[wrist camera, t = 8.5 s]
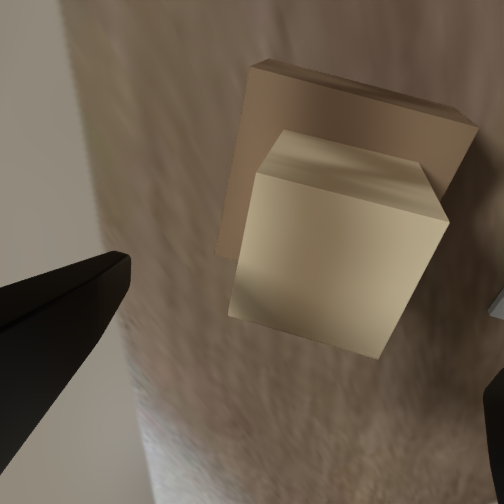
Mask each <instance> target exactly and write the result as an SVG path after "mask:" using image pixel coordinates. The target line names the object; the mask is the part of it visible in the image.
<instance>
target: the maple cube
mask: <svg viewBox="0 0 504 504" xmlns="http://www.w3.org/2000/svg"><path fill="white" fill-rule="evenodd" d="M449 223H450V222H449V220H448V218H447V216H446V214H445V212H444V210H443V208H442V206H441V204H440V202H439V201H438V199H437V197H436V195H435V193H434V191H433V189H432V187H431V185H430V183H429V181H428V179H427V177H426V175H425V174H424V172H423V170H422V168H421V166H420V164H419V163H418V162H414V161H410V160H406V159H402V158H398V157H394V156H390V155H386V154H382V153H378V152H374V151H369V150H365V149H361V148H357V147H353V146H349V145H345V144H341V143H337V142H333V141H329V140H325V139H321V138H317V137H313V136H309V135H305V134H300V133H296V132H292V131H288V130H283V131H282V133H281V134H280V136H279V137H278V139H277V141H276V142H275V144H274V145H273V147H272V148H271V150H270V151H269V153H268V155H267V156H266V158H265V159H264V161H263V162H262V164H261V165H260V167H259V169H258V170H257V172H256V175H255V180H254V185H253V190H252V195H251V200H250V205H249V210H248V215H247V220H246V225H245V230H244V235H243V240H242V245H241V250H240V255H239V260H238V265H237V270H236V275H235V281H234V286H233V291H232V296H231V301H230V306H229V311H228V316H232V317H235V318H238V319H242V320H245V321H249V322H252V323H255V324H259V325H262V326H266V327H269V328H272V329H276V330H279V331H283V332H286V333H289V334H293V335H296V336H300V337H303V338H306V339H310V340H313V341H317V342H320V343H324V344H327V345H330V346H334V347H337V348H341V349H344V350H347V351H351V352H354V353H358V354H361V355H364V356H368V357H371V358H375V359H379V357H380V355H381V353H382V351H383V349H384V347H385V345H386V344H387V342H388V340H389V338H390V336H391V334H392V332H393V330H394V328H395V326H396V324H397V322H398V321H399V319H400V317H401V315H402V313H403V311H404V309H405V307H406V305H407V303H408V301H409V300H410V298H411V296H412V294H413V292H414V290H415V288H416V286H417V284H418V282H419V280H420V278H421V277H422V275H423V273H424V271H425V269H426V267H427V265H428V263H429V261H430V259H431V257H432V256H433V254H434V252H435V250H436V248H437V246H438V244H439V242H440V240H441V238H442V236H443V234H444V233H445V231H446V229H447V227H448V225H449Z"/></svg>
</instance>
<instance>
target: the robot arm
mask: <svg viewBox="0 0 504 504" xmlns="http://www.w3.org/2000/svg"><path fill="white" fill-rule="evenodd" d="M130 282H131V257H130V256H129V255H128V254H125V253H122V252H118V251H110V252H107V253H104V254H101V255H98V256H95V257H92V258H89V259H86V260H83V261H80V262H77V263H74V264H71V265H68V266H65V267H62V268H59V269H56V270H52V271H49V272H47V273H44V274H40V275H37V276H34V277H31V278H28V279H25V280H22V281H19V282H16V283H13V284H10V285H7V286H4V287H1V288H0V475H1V473H2V472H3V471H4V469H5V468H6V466H7V465H8V464H9V463H10V461H11V460H12V458H13V457H14V456H15V454H16V453H17V452H18V450H19V449H20V448H21V446H22V445H23V443H24V442H25V441H26V439H27V438H28V437H29V435H30V434H31V433H32V431H33V430H34V429H35V427H36V426H37V425H38V423H39V422H40V420H41V419H42V418H43V416H44V415H45V414H46V412H47V411H48V410H49V408H50V406H51V405H52V404H53V403H54V401H55V400H56V399H57V397H58V396H59V395H60V393H61V392H62V390H63V389H64V388H65V386H66V385H67V384H68V382H69V381H70V380H71V378H72V377H73V376H74V374H75V373H76V372H77V370H78V369H79V367H80V366H81V365H82V363H83V362H84V361H85V359H86V358H87V357H88V355H89V354H90V353H91V351H92V350H93V348H94V347H95V346H96V344H97V343H98V341H99V340H100V338H101V337H102V335H103V333H104V331H105V330H106V328H107V326H108V325H109V322H110V321H111V319H112V318H113V316H114V314H115V312H116V311H117V309H118V307H119V305H120V304H121V302H122V300H123V298H124V297H125V295H126V293H127V291H128V289H129V286H130ZM483 405H484V415H485V424H486V434H487V444H488V453H489V460H490V467H491V472H492V477H493V482H494V487H495V491H496V496H497V501H498V504H504V368H503V369H501V370H500V371H499V373H498V374H497V375H496V376H495V378H494V379H493V380H492V381H491V382H490V384H489V385H488V386H487V387H486V389H485V391H484V394H483Z"/></svg>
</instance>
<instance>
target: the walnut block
mask: <svg viewBox="0 0 504 504" xmlns="http://www.w3.org/2000/svg"><path fill="white" fill-rule="evenodd" d="M283 130H288V131H292V132H296V133H300V134H305V135H309V136H313V137H317V138H321V139H325V140H329V141H333V142H337V143H341V144H345V145H349V146H353V147H357V148H361V149H365V150H369V151H374V152H378V153H382V154H386V155H390V156H394V157H398V158H402V159H406V160H410V161H414V162H418V163H419V164H420V166H421V168H422V170H423V172H424V174H425V175H426V177H427V179H428V181H429V183H430V185H431V187H432V189H433V191H434V193H435V195H436V197H437V199H438V201H439V202H440V201H441V199H442V198H443V196H444V194H445V192H446V190H447V188H448V186H449V184H450V182H451V181H452V179H453V177H454V175H455V173H456V171H457V169H458V167H459V165H460V164H461V162H462V160H463V158H464V156H465V154H466V152H467V150H468V149H469V147H470V145H471V143H472V141H473V139H474V137H475V135H476V133H477V132H478V130H479V127H478V126H477V125H475V124H474V123H473V122H472V121H470V120H469V119H468V118H467V117H465V116H464V115H463V114H462V113H460V112H459V111H458V110H457V109H455V108H454V107H450V106H446V105H442V104H439V103H435V102H431V101H427V100H423V99H420V98H416V97H412V96H408V95H405V94H401V93H397V92H393V91H389V90H386V89H382V88H378V87H374V86H370V85H367V84H363V83H359V82H355V81H352V80H348V79H344V78H340V77H336V76H333V75H329V74H325V73H321V72H317V71H314V70H310V69H306V68H302V67H299V66H295V65H291V64H287V63H283V62H280V61H276V60H272V59H267V60H265V61H262V62H260V63H257V64H255V65H253V66H250V70H249V75H248V80H247V85H246V91H245V96H244V101H243V107H242V112H241V117H240V122H239V128H238V133H237V138H236V143H235V149H234V154H233V159H232V165H231V170H230V175H229V180H228V186H227V191H226V196H225V201H224V207H223V212H222V217H221V222H220V228H219V233H218V238H217V244H216V249H215V254H216V255H219V256H223V257H226V258H229V259H233V260H236V261H238V260H239V255H240V250H241V245H242V240H243V235H244V230H245V225H246V220H247V215H248V210H249V205H250V200H251V195H252V190H253V185H254V180H255V175H256V172H257V170H258V169H259V167H260V165H261V164H262V162H263V161H264V159H265V158H266V156H267V155H268V153H269V151H270V150H271V148H272V147H273V145H274V144H275V142H276V141H277V139H278V137H279V136H280V134H281V133H282V131H283Z"/></svg>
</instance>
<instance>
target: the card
mask: <svg viewBox="0 0 504 504" xmlns="http://www.w3.org/2000/svg"><path fill="white" fill-rule="evenodd" d="M488 313H489V315H490V316H492V317H496V318H499V319H503V320H504V288H503V289H502V291H501V292H500V294H499V295H498V296H497V298H496V299H495V301H494V302H493V303H492V305H491V306H490V308H489V309H488Z"/></svg>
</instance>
